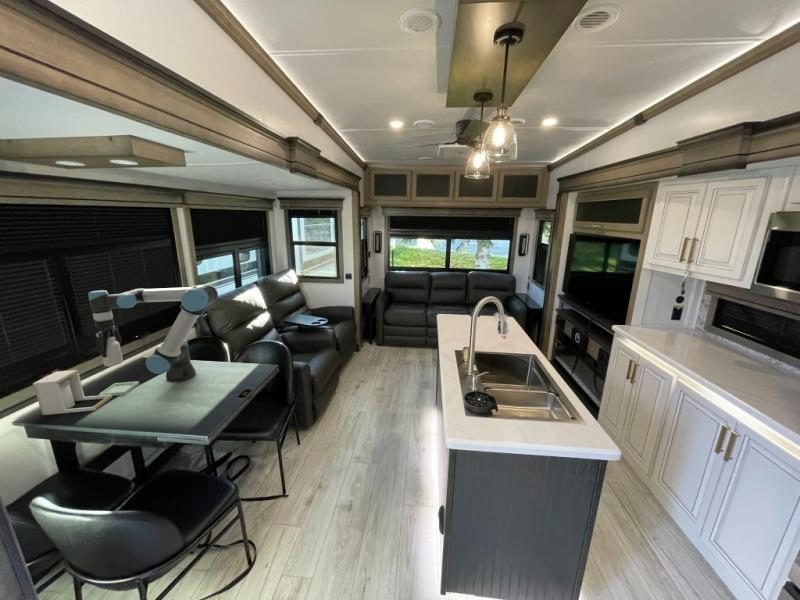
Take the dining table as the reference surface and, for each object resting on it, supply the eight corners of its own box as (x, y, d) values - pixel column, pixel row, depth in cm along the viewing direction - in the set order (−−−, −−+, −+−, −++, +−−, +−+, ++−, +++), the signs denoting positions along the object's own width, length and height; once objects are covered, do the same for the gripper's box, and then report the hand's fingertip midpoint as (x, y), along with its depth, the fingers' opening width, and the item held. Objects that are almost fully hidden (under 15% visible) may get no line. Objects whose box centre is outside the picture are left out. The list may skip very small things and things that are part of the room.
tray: (139, 384, 185) (138, 381, 185) (125, 394, 173) (124, 391, 173) (115, 385, 183) (114, 383, 183) (99, 396, 171) (98, 394, 171)
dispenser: (112, 396, 171) (105, 367, 167) (94, 410, 159) (86, 379, 155) (64, 401, 168) (56, 371, 164) (42, 415, 155) (32, 383, 151)
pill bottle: (112, 367, 170) (106, 341, 167) (100, 366, 172) (94, 340, 168) (127, 361, 178) (121, 336, 174) (115, 360, 179) (110, 335, 176)
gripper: (109, 314, 178) (118, 352, 183) (80, 325, 158) (90, 367, 163) (124, 313, 179) (132, 351, 184) (97, 324, 159) (107, 366, 165)
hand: (113, 359), depth 174 cm, fingers closed on pill bottle, 8 cm apart
